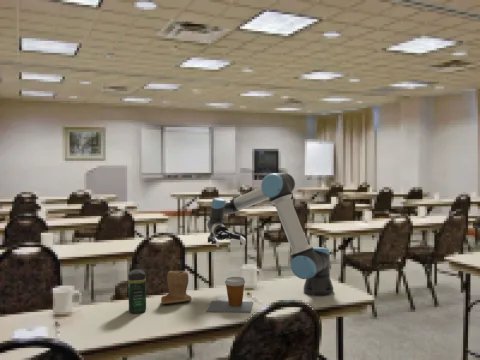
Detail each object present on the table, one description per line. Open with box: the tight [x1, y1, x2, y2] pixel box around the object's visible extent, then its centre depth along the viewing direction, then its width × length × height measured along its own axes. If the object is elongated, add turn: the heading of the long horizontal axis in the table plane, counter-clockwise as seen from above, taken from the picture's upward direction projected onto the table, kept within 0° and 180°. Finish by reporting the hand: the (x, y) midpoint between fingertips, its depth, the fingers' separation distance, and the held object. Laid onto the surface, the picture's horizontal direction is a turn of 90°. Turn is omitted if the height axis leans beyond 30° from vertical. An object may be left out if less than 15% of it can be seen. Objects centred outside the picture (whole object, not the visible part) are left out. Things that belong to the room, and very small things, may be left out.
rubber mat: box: [205, 300, 254, 314], centre depth 201 cm, size 20×14×1 cm
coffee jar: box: [127, 268, 147, 314], centre depth 199 cm, size 10×8×19 cm
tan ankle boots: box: [160, 270, 192, 305], centre depth 211 cm, size 15×12×15 cm
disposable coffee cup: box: [224, 276, 246, 307], centre depth 203 cm, size 10×10×12 cm
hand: (231, 243), depth 211 cm, fingers open, 13 cm apart
